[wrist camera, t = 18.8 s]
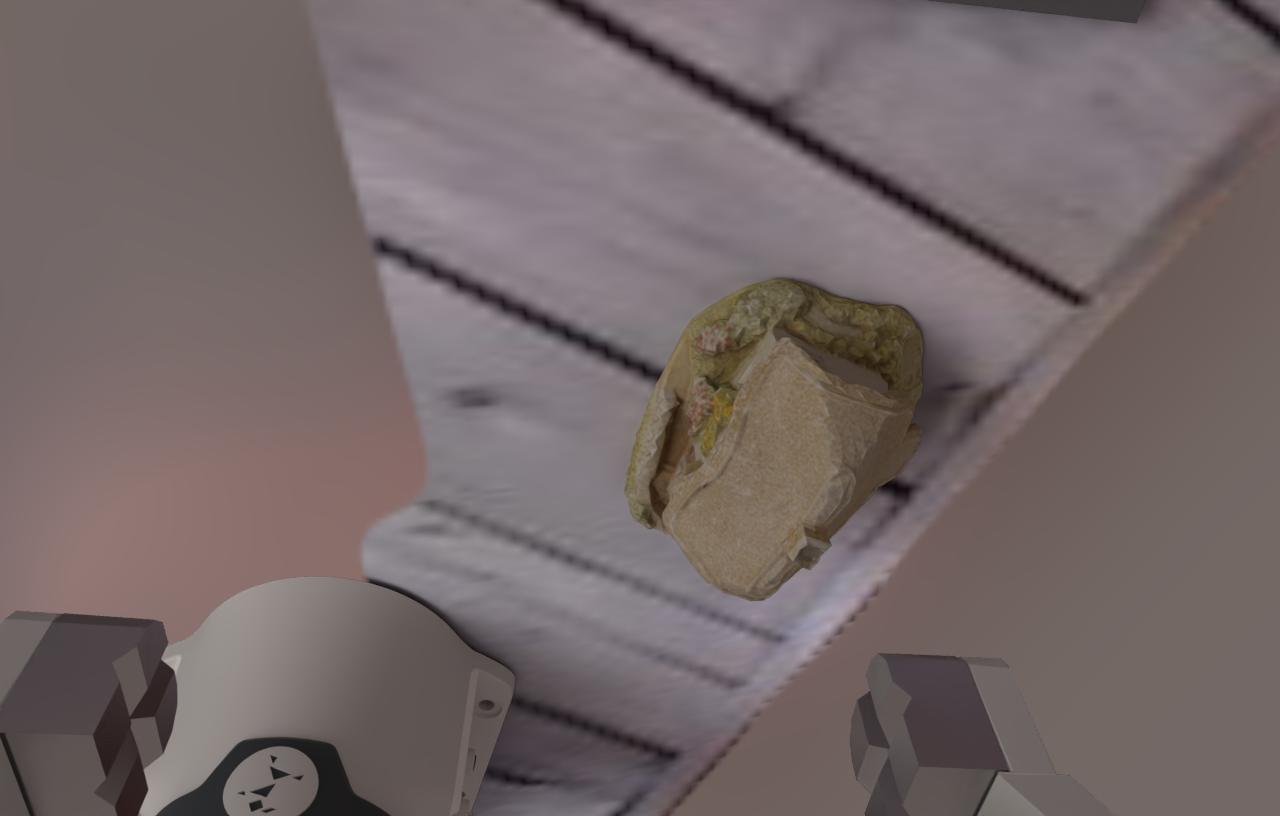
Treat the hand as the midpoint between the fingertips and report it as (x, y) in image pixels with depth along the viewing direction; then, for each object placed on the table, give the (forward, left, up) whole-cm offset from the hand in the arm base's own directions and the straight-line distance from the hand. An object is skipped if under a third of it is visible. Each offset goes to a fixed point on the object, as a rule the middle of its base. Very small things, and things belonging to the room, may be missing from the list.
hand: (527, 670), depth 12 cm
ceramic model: (-16, -10, -30) cm, 35 cm away
